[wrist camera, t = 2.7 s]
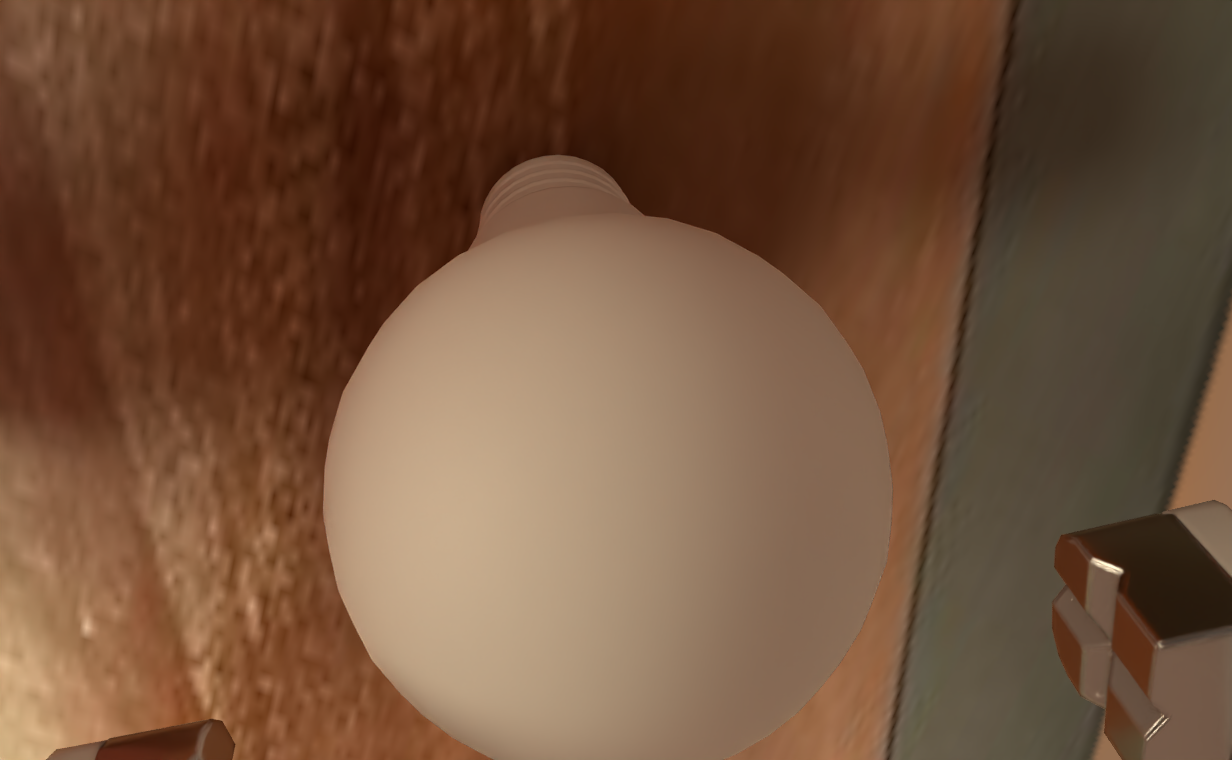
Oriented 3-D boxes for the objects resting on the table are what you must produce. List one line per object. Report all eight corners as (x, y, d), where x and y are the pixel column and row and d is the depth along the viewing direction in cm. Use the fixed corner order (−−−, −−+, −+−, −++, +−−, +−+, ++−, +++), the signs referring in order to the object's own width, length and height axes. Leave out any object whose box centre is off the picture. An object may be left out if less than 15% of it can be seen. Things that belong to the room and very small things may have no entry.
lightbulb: (798, 210, 20) (1107, 677, 11) (544, 420, 21) (619, 984, 12) (560, -60, 17) (701, 254, 8) (289, 206, 19) (134, 730, 9)
